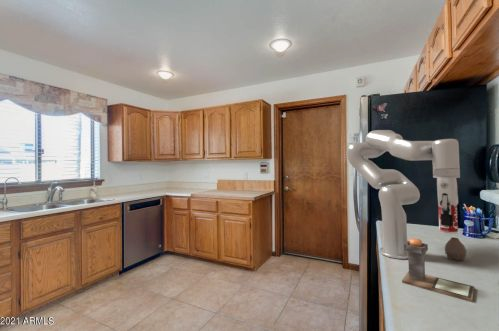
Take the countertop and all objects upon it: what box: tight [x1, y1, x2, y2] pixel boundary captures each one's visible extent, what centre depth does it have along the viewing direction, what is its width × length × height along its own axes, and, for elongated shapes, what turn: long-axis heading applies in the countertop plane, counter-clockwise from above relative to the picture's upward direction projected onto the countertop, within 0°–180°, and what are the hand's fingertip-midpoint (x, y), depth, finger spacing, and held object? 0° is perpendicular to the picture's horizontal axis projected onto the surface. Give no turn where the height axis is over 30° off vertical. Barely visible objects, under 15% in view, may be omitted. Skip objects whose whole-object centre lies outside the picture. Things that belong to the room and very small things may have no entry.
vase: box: [444, 237, 467, 262], centre depth 101 cm, size 7×7×9 cm
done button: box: [408, 238, 423, 247], centre depth 85 cm, size 4×4×2 cm
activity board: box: [401, 240, 475, 303], centre depth 81 cm, size 18×10×13 cm, turn 44°
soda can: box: [437, 201, 459, 235], centre depth 87 cm, size 5×5×12 cm
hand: (447, 223), depth 86 cm, fingers closed on soda can, 4 cm apart
